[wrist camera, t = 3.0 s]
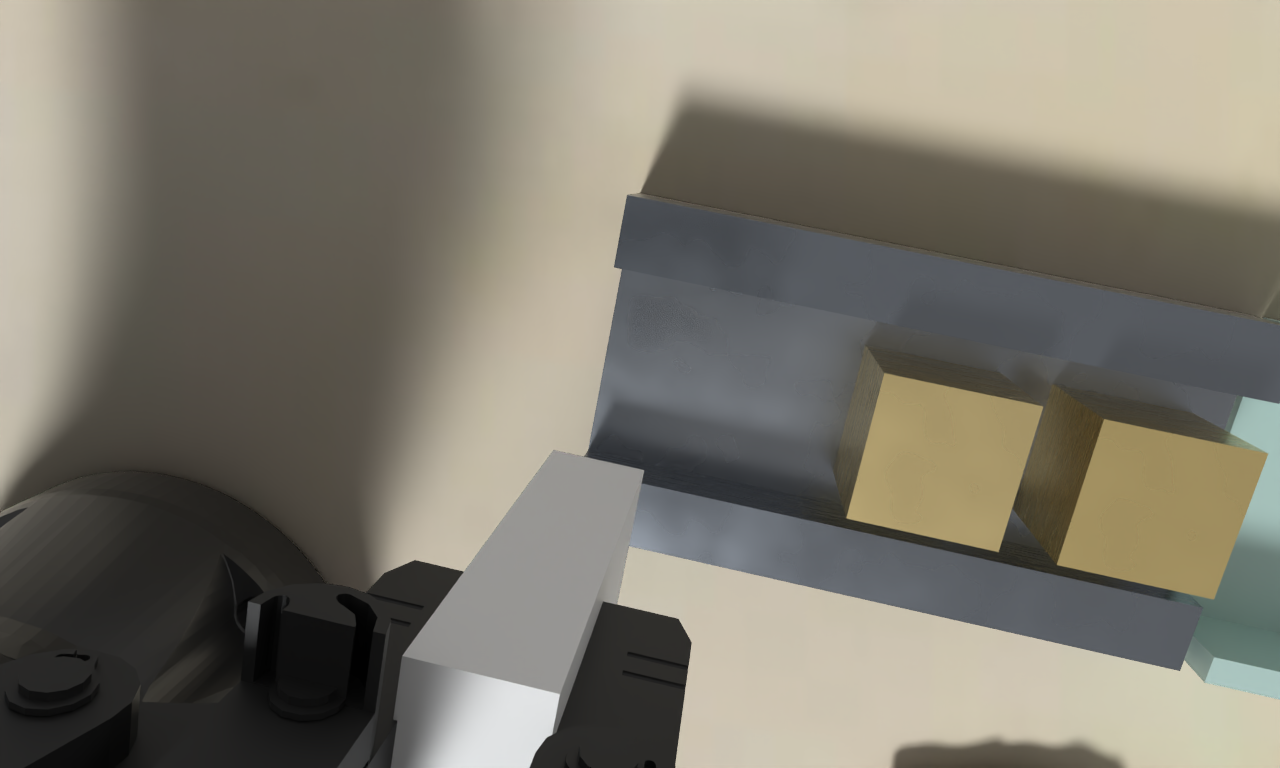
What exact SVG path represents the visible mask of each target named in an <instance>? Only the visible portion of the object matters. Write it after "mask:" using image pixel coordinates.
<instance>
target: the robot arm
mask: <svg viewBox="0 0 1280 768" xmlns="http://www.w3.org/2000/svg"><path fill="white" fill-rule="evenodd" d="M643 474H644V470H641V469H637V468H632V467H628V466H623V465H619V464H614V463H610V462H605V461H601V460H596V459H592V458H587V457H583V456H578V455H574V454H569V453H565V452H560V451H556V450H553V451H552V453H551V454H550V455H549V457H548V458H547V460H546V461H545V462H544V464H543V465H542V466H541V468H540V469H539V470H538V472H537V473H536V474H535V476H534V477H533V479H532V480H531V481H530V483H529V484H528V485H527V487H526V488H525V489H524V491H523V492H522V494H521V495H520V496H519V498H518V499H517V500H516V502H515V503H514V504H513V506H512V507H511V508H510V510H509V511H508V513H507V514H506V515H505V517H504V518H503V519H502V521H501V522H500V523H499V525H498V526H497V528H496V529H495V530H494V532H493V533H492V534H491V536H490V537H489V538H488V540H487V541H486V542H485V544H484V545H483V547H482V548H481V549H480V551H479V552H478V553H477V555H476V556H475V557H474V559H473V560H472V562H471V563H470V564H469V566H468V567H467V568H466V570H465V571H464V572H463V571H459V570H454V569H450V568H446V567H442V566H437V565H433V564H429V563H425V562H420V561H416V560H414V561H412V562H410V563H407V564H405V565H403V566H400V567H398V568H395V569H393V570H391V571H388V572H386V573H384V574H383V575H382V576H381V577H380V578H379V579H378V581H377V582H376V583H375V584H374V585H373V586H372V587H371V588H370V589H369V590H368V591H367V592H366V593H364V592H361V591H358V590H356V589H353V588H350V587H347V586H339V585H332V584H325V583H324V581H323V580H322V578H321V577H320V575H319V574H318V573H317V571H316V570H315V569H314V567H313V566H312V565H311V563H310V562H309V561H308V560H307V559H306V557H305V556H304V555H303V554H302V553H301V552H300V551H299V549H298V548H297V547H296V546H295V545H294V544H293V543H292V542H291V541H290V540H289V539H288V538H287V537H285V536H284V535H283V534H282V533H281V532H280V531H279V530H278V529H276V528H275V527H274V526H273V525H271V524H270V523H269V522H268V521H266V520H265V519H264V518H262V517H261V516H260V515H258V514H257V513H255V512H254V511H252V510H251V509H249V508H248V507H246V506H244V505H243V504H241V503H239V502H237V501H236V500H234V499H232V498H230V497H228V496H226V495H224V494H222V493H220V492H218V491H215V490H213V489H211V488H208V487H206V486H203V485H200V484H197V483H194V482H191V481H188V480H184V479H181V478H177V477H173V476H168V475H162V474H156V473H148V472H131V471H125V472H108V473H100V474H94V475H89V476H84V477H81V478H77V479H74V480H70V481H68V482H65V483H63V484H60V485H57V486H55V487H53V488H51V489H49V490H46V491H44V492H42V493H40V494H37V495H35V496H33V497H31V498H29V499H26V500H24V501H22V502H20V503H18V504H16V505H14V506H12V507H9V508H7V509H5V510H4V511H2V512H0V768H675V761H676V754H677V746H678V739H679V732H680V724H681V717H682V709H683V702H684V695H685V687H686V680H687V673H688V665H689V658H690V650H691V643H692V642H691V641H690V639H689V637H688V635H687V633H686V632H685V630H684V628H683V626H682V625H681V623H680V621H679V619H676V618H672V617H668V616H664V615H659V614H655V613H651V612H647V611H642V610H638V609H634V608H629V607H625V606H621V605H617V602H618V597H619V593H620V588H621V583H622V578H623V573H624V568H625V563H626V558H627V553H628V548H629V543H630V538H631V533H632V528H633V523H634V518H635V513H636V508H637V504H638V499H639V494H640V489H641V484H642V479H643Z"/></svg>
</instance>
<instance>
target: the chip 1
mask: <svg viewBox="0 0 1280 768" xmlns="http://www.w3.org/2000/svg"><path fill="white" fill-rule="evenodd" d="M1042 410H1043V406H1042V405H1041V404H1040V403H1038V402H1037V401H1036V400H1035V399H1033V398H1032V397H1031V396H1029V395H1028V394H1027V393H1026V392H1024V391H1023V390H1022V389H1021V388H1019V387H1018V386H1017V385H1015V384H1014V383H1013V382H1012V381H1010V380H1009V379H1008V378H1007V377H1005V376H1004V375H1003V374H1001V373H998V372H993V371H988V370H983V369H978V368H974V367H969V366H964V365H959V364H954V363H950V362H945V361H940V360H935V359H930V358H925V357H921V356H916V355H911V354H906V353H901V352H897V351H892V350H887V349H882V348H877V347H872V346H868V345H865V347H864V351H863V355H862V359H861V363H860V367H859V371H858V375H857V379H856V383H855V387H854V391H853V394H852V398H851V402H850V406H849V410H848V414H847V418H846V422H845V426H844V430H843V434H842V438H841V442H840V445H839V449H838V453H837V457H836V461H835V465H834V469H833V473H834V477H835V480H836V484H837V487H838V491H839V494H840V498H841V501H842V505H843V509H844V512H845V516H846V518H847V519H851V520H856V521H860V522H865V523H869V524H874V525H878V526H883V527H887V528H892V529H896V530H901V531H905V532H910V533H914V534H919V535H924V536H928V537H933V538H937V539H942V540H946V541H951V542H955V543H960V544H964V545H969V546H973V547H978V548H982V549H987V550H991V551H996V552H999V549H1000V546H1001V543H1002V540H1003V536H1004V533H1005V530H1006V527H1007V523H1008V520H1009V517H1010V514H1011V510H1012V507H1013V504H1014V501H1015V497H1016V494H1017V491H1018V488H1019V484H1020V481H1021V478H1022V475H1023V471H1024V468H1025V465H1026V462H1027V458H1028V455H1029V452H1030V449H1031V445H1032V442H1033V439H1034V436H1035V432H1036V429H1037V426H1038V423H1039V419H1040V416H1041V413H1042Z"/></svg>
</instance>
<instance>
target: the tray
mask: <svg viewBox="0 0 1280 768" xmlns="http://www.w3.org/2000/svg"><path fill="white" fill-rule="evenodd" d="M1263 319H1267V320H1270V321H1274V322H1277V323H1280V320H1275V319H1270V318H1265V317H1263ZM1225 431H1227V432H1229V433H1231V434H1233V435H1235V436H1237V437H1238V438H1240V439H1242V440H1244V441H1246V442H1248V443H1250V444H1252V445H1253V446H1255V447H1257V448H1259V449H1261V450H1263V451H1265V452H1266V453H1268V456H1267V459H1266V462H1265V464H1264V467H1263V470H1262V472H1261V475H1260V478H1259V480H1258V483H1257V486H1256V488H1255V491H1254V494H1253V496H1252V499H1251V502H1250V504H1249V507H1248V510H1247V512H1246V515H1245V518H1244V520H1243V523H1242V526H1241V528H1240V531H1239V534H1238V536H1237V539H1236V542H1235V545H1234V547H1233V550H1232V553H1231V555H1230V558H1229V561H1228V563H1227V566H1226V569H1225V571H1224V574H1223V577H1222V579H1221V582H1220V585H1219V587H1218V590H1217V593H1216V595H1215V598H1214V600H1213V599H1209V598H1204V597H1200V596H1195V595H1191V594H1189V595H1190V596H1191V597H1192V598H1194V599H1195V600H1196V601H1197V602H1198V603H1199V604H1200V605H1201V606H1202V607H1203V610H1202V613H1201V615H1200V618H1199V621H1198V624H1197V626H1196V629H1195V632H1194V634H1193V637H1192V640H1191V642H1190V645H1189V648H1188V650H1187V653H1186V656H1185V658H1184V660H1185V661H1186V662H1187V663H1188V665H1189V666H1190V667H1191V668H1192V669H1193V670H1194V671H1195V672H1196V673H1197V675H1198V676H1199V677H1200V678H1201V679H1202V680H1203V681H1204V682H1205V683H1209V684H1214V685H1218V686H1222V687H1227V688H1231V689H1236V690H1240V691H1244V692H1249V693H1253V694H1258V695H1262V696H1266V697H1271V698H1275V699H1280V403H1279V404H1277V403H1272V402H1267V401H1262V400H1257V399H1252V398H1247V397H1243V396H1238V395H1237V397H1236V399H1235V402H1234V405H1233V408H1232V411H1231V413H1230V416H1229V419H1228V422H1227V425H1226V427H1225Z"/></svg>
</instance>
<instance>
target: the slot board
mask: <svg viewBox="0 0 1280 768" xmlns="http://www.w3.org/2000/svg"><path fill="white" fill-rule="evenodd" d="M614 267H615V268H620V269H622V272H621V277H620V283H619V288H618V293H617V299H616V304H615V310H614V315H613V320H612V326H611V331H610V336H609V342H608V347H607V353H606V358H605V363H604V369H603V374H602V380H601V385H600V390H599V396H598V401H597V406H596V412H595V417H594V423H593V428H592V433H591V439H590V444H589V449H588V451H587V453H586V455H585V456H584V457H587V458H592V459H596V460H601V461H605V462H610V463H614V464H619V465H623V466H628V467H632V468H637V469H641V470H644V474H643V479H642V484H641V489H640V494H639V499H638V504H637V508H636V513H635V518H634V523H633V528H632V533H631V538H630V543H629V546H631V547H636V548H640V549H644V550H649V551H653V552H658V553H662V554H666V555H671V556H675V557H680V558H684V559H689V560H693V561H697V562H702V563H706V564H711V565H715V566H719V567H724V568H728V569H733V570H737V571H741V572H746V573H750V574H755V575H759V576H764V577H768V578H772V579H777V580H781V581H786V582H790V583H794V584H799V585H803V586H808V587H812V588H816V589H821V590H825V591H830V592H834V593H839V594H843V595H847V596H852V597H856V598H861V599H865V600H869V601H874V602H878V603H883V604H887V605H891V606H896V607H900V608H905V609H909V610H914V611H918V612H922V613H927V614H931V615H936V616H940V617H944V618H949V619H953V620H958V621H962V622H967V623H971V624H975V625H980V626H984V627H989V628H993V629H997V630H1002V631H1006V632H1011V633H1015V634H1019V635H1024V636H1028V637H1033V638H1037V639H1042V640H1046V641H1050V642H1055V643H1059V644H1064V645H1068V646H1072V647H1077V648H1081V649H1086V650H1090V651H1094V652H1099V653H1103V654H1108V655H1112V656H1117V657H1121V658H1125V659H1130V660H1134V661H1139V662H1143V663H1147V664H1152V665H1156V666H1161V667H1165V668H1169V669H1174V670H1178V671H1180V669H1181V667H1182V664H1183V661H1184V658H1185V656H1186V653H1187V650H1188V648H1189V645H1190V642H1191V640H1192V637H1193V634H1194V632H1195V629H1196V626H1197V624H1198V621H1199V618H1200V615H1201V613H1202V610H1203V607H1202V606H1201V605H1200V604H1199V603H1198V602H1197V601H1196V600H1195V599H1194V598H1192V597H1191V596H1190V595H1189V594H1186V593H1182V592H1177V591H1173V590H1168V589H1164V588H1159V587H1154V586H1150V585H1145V584H1141V583H1136V582H1132V581H1127V580H1123V579H1118V578H1114V577H1109V576H1105V575H1100V574H1096V573H1091V572H1087V571H1082V570H1077V569H1073V568H1068V567H1064V566H1059V565H1056V563H1055V562H1054V561H1053V560H1052V558H1051V557H1050V556H1049V555H1048V553H1047V552H1046V551H1045V549H1044V548H1043V547H1042V546H1041V544H1040V543H1039V542H1038V541H1037V539H1036V538H1035V537H1034V536H1033V534H1032V533H1031V532H1030V530H1029V529H1028V528H1027V527H1026V525H1025V524H1024V523H1023V522H1022V520H1021V519H1020V518H1019V517H1018V515H1017V514H1016V513H1015V511H1014V508H1015V505H1016V502H1017V498H1018V495H1019V492H1020V489H1021V485H1022V482H1023V479H1024V476H1025V472H1026V469H1027V466H1028V463H1029V459H1030V456H1031V453H1032V450H1033V446H1034V443H1035V440H1036V437H1037V433H1038V430H1039V427H1040V424H1041V420H1042V417H1043V414H1044V411H1045V407H1046V404H1047V401H1048V398H1049V395H1050V391H1051V388H1052V385H1053V384H1056V385H1060V386H1065V387H1070V388H1075V389H1080V390H1085V391H1089V392H1094V393H1099V394H1104V395H1109V396H1113V397H1118V398H1123V399H1128V400H1133V401H1138V402H1142V403H1147V404H1152V405H1157V406H1162V407H1166V408H1171V409H1176V410H1181V411H1186V412H1191V413H1194V414H1196V415H1197V416H1199V417H1201V418H1203V419H1205V420H1207V421H1209V422H1210V423H1212V424H1214V425H1216V426H1218V427H1220V428H1222V429H1224V430H1225V427H1226V425H1227V422H1228V419H1229V416H1230V413H1231V411H1232V408H1233V405H1234V402H1235V399H1236V397H1237V395H1238V396H1243V397H1247V398H1252V399H1257V400H1262V401H1267V402H1272V403H1277V404H1279V403H1280V323H1277V322H1274V321H1270V320H1267V319H1263V318H1259V317H1256V316H1252V315H1249V314H1245V313H1240V312H1235V311H1230V310H1225V309H1220V308H1215V307H1210V306H1205V305H1200V304H1195V303H1189V302H1184V301H1179V300H1174V299H1169V298H1164V297H1159V296H1154V295H1149V294H1144V293H1139V292H1134V291H1129V290H1124V289H1119V288H1114V287H1109V286H1104V285H1099V284H1094V283H1089V282H1084V281H1079V280H1074V279H1069V278H1064V277H1059V276H1054V275H1049V274H1044V273H1039V272H1034V271H1029V270H1024V269H1019V268H1014V267H1009V266H1004V265H999V264H994V263H989V262H984V261H979V260H974V259H969V258H964V257H959V256H954V255H949V254H944V253H939V252H934V251H929V250H924V249H919V248H914V247H909V246H904V245H899V244H894V243H889V242H884V241H879V240H874V239H869V238H864V237H859V236H854V235H848V234H843V233H838V232H833V231H828V230H823V229H818V228H813V227H808V226H803V225H798V224H793V223H788V222H783V221H778V220H773V219H768V218H763V217H758V216H753V215H748V214H743V213H738V212H733V211H728V210H723V209H718V208H713V207H708V206H703V205H698V204H693V203H688V202H683V201H678V200H673V199H668V198H663V197H658V196H653V195H648V194H643V193H636V194H630V195H627V199H626V205H625V210H624V215H623V221H622V226H621V232H620V237H619V243H618V248H617V254H616V259H615V265H614ZM865 345H868V346H872V347H877V348H882V349H887V350H892V351H897V352H901V353H906V354H911V355H916V356H921V357H925V358H930V359H935V360H940V361H945V362H950V363H954V364H959V365H964V366H969V367H974V368H978V369H983V370H988V371H993V372H998V373H1001V374H1003V375H1004V376H1005V377H1007V378H1008V379H1009V380H1010V381H1012V382H1013V383H1014V384H1015V385H1017V386H1018V387H1019V388H1021V389H1022V390H1023V391H1024V392H1026V393H1027V394H1028V395H1029V396H1031V397H1032V398H1033V399H1035V400H1036V401H1037V402H1038V403H1040V404H1041V405H1042V406H1043V410H1042V413H1041V416H1040V419H1039V423H1038V426H1037V429H1036V432H1035V436H1034V439H1033V442H1032V445H1031V449H1030V452H1029V455H1028V458H1027V462H1026V465H1025V468H1024V471H1023V475H1022V478H1021V481H1020V484H1019V488H1018V491H1017V494H1016V497H1015V501H1014V504H1013V507H1012V510H1011V514H1010V517H1009V520H1008V523H1007V527H1006V530H1005V533H1004V536H1003V540H1002V543H1001V546H1000V549H999V552H996V551H991V550H987V549H982V548H978V547H973V546H969V545H964V544H960V543H955V542H951V541H946V540H942V539H937V538H933V537H928V536H924V535H919V534H914V533H910V532H905V531H901V530H896V529H892V528H887V527H883V526H878V525H874V524H869V523H865V522H860V521H856V520H851V519H847V518H846V516H845V512H844V509H843V505H842V501H841V498H840V494H839V491H838V487H837V484H836V480H835V477H834V473H833V469H834V465H835V461H836V457H837V453H838V449H839V445H840V442H841V438H842V434H843V430H844V426H845V422H846V418H847V414H848V410H849V406H850V402H851V398H852V394H853V391H854V387H855V383H856V379H857V375H858V371H859V367H860V363H861V359H862V355H863V351H864V347H865Z"/></svg>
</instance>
